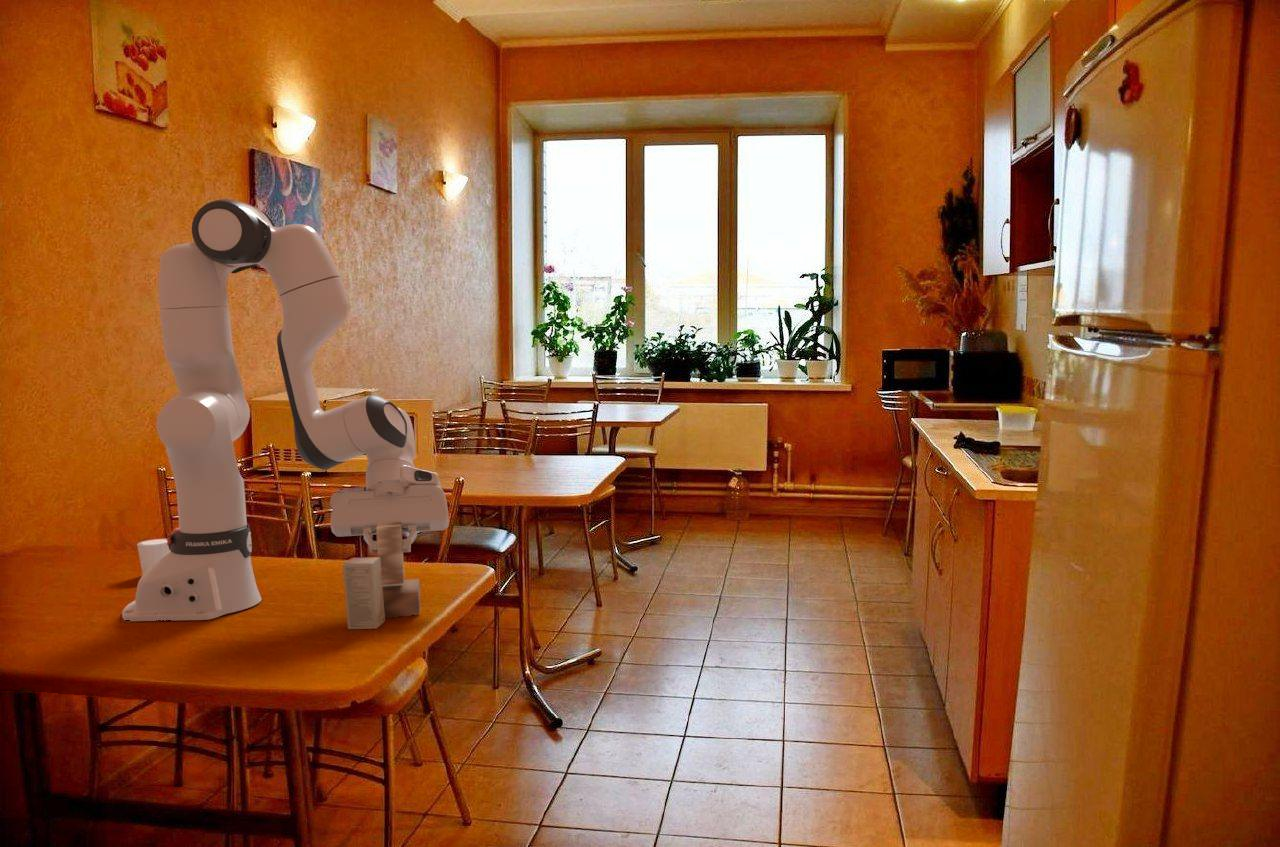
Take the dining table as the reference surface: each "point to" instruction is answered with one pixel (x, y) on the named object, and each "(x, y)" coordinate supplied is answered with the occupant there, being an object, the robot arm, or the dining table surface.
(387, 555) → the oak post
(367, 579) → the box
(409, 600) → the light tan slab
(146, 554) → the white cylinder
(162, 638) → the dining table surface
